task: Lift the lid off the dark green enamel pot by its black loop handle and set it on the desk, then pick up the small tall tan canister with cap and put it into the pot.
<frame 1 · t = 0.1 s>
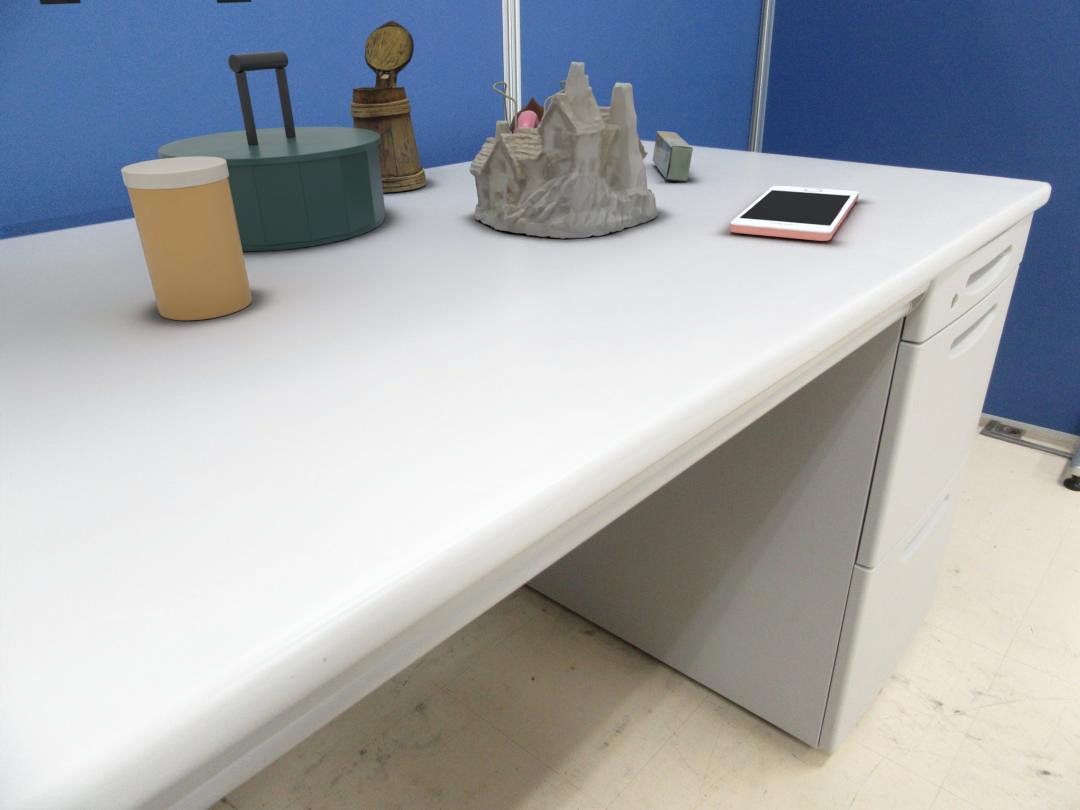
hand: (156, 4, 53), 20 cm above the table, tool pointing down, fingers open, 13 cm apart
pot: (286, 224, 79), on the table
anatomy model: (532, 173, 102), on the table
cell phone: (797, 217, 77), on the table
lid: (273, 147, 76), point 7 cm above the table, touching pot
medication box: (670, 174, 99), on the table
wooden mug: (394, 183, 98), on the table
tan canister with cap: (206, 305, 58), on the table
ceramic cottage: (566, 219, 79), on the table
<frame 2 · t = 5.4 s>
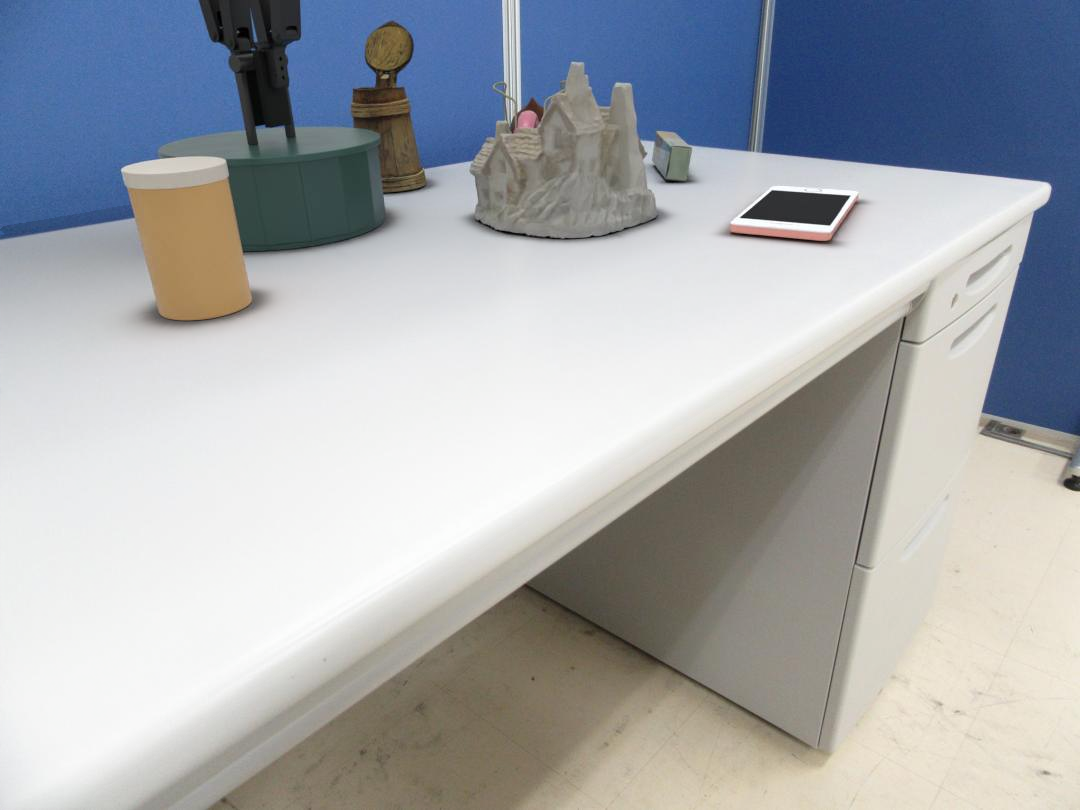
hand: (269, 124, 75), 10 cm above the table, tool pointing down, fingers closed on lid, 1 cm apart
lid: (273, 147, 76), point 7 cm above the table, touching gripper, pot
everything else where it was.
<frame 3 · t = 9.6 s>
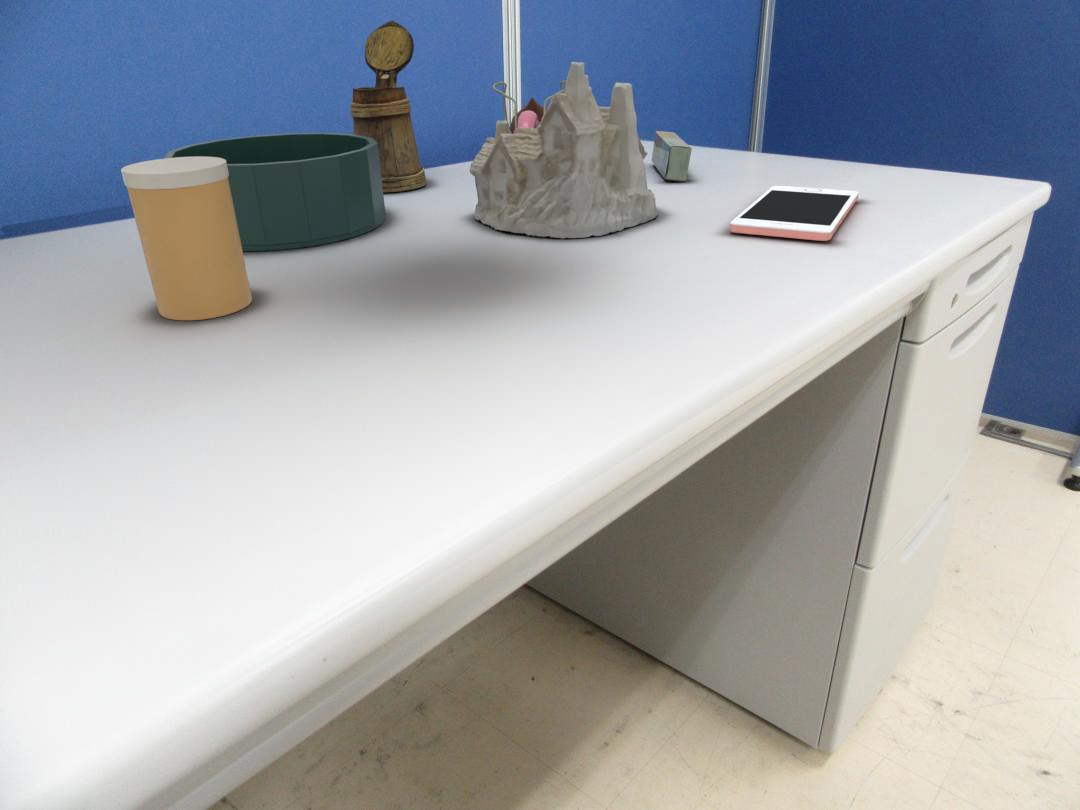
when the fingers open (3 cm above the table, at t = 14.1 s): lid stays where it is, point 1 cm above the table.
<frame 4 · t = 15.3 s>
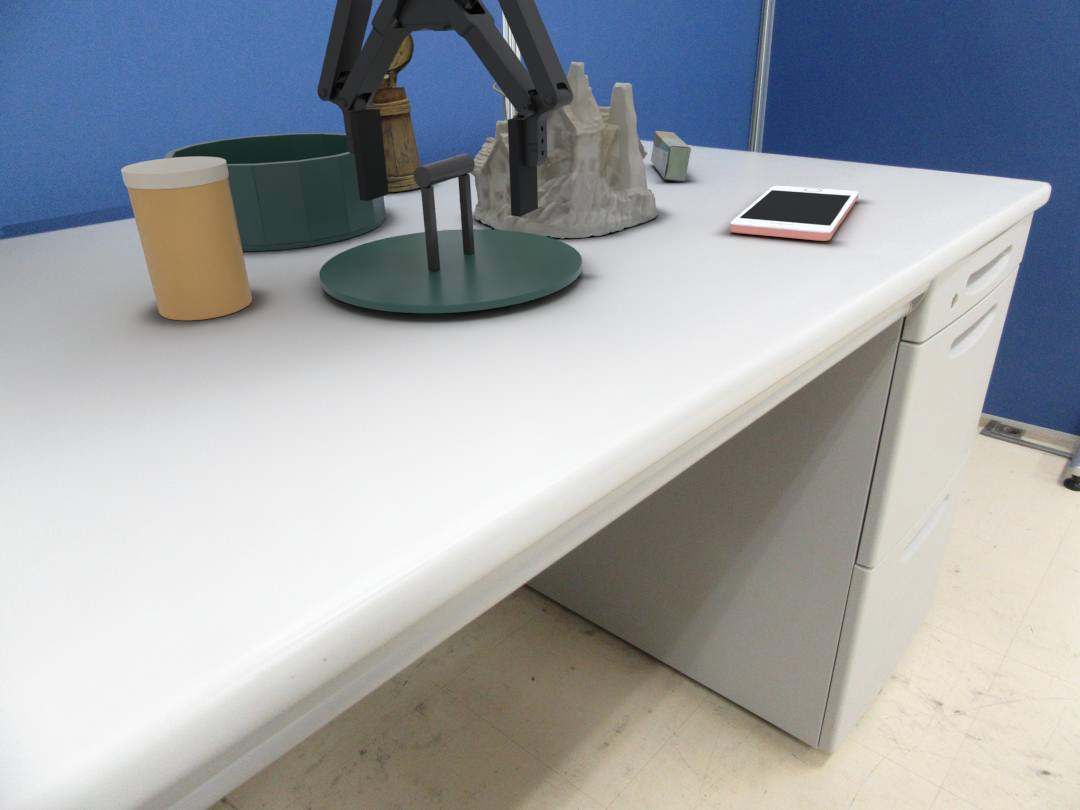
hand: (446, 205, 60), 6 cm above the table, tool pointing down, fingers open, 13 cm apart
lid: (452, 268, 62), point 1 cm above the table
everything else where it was.
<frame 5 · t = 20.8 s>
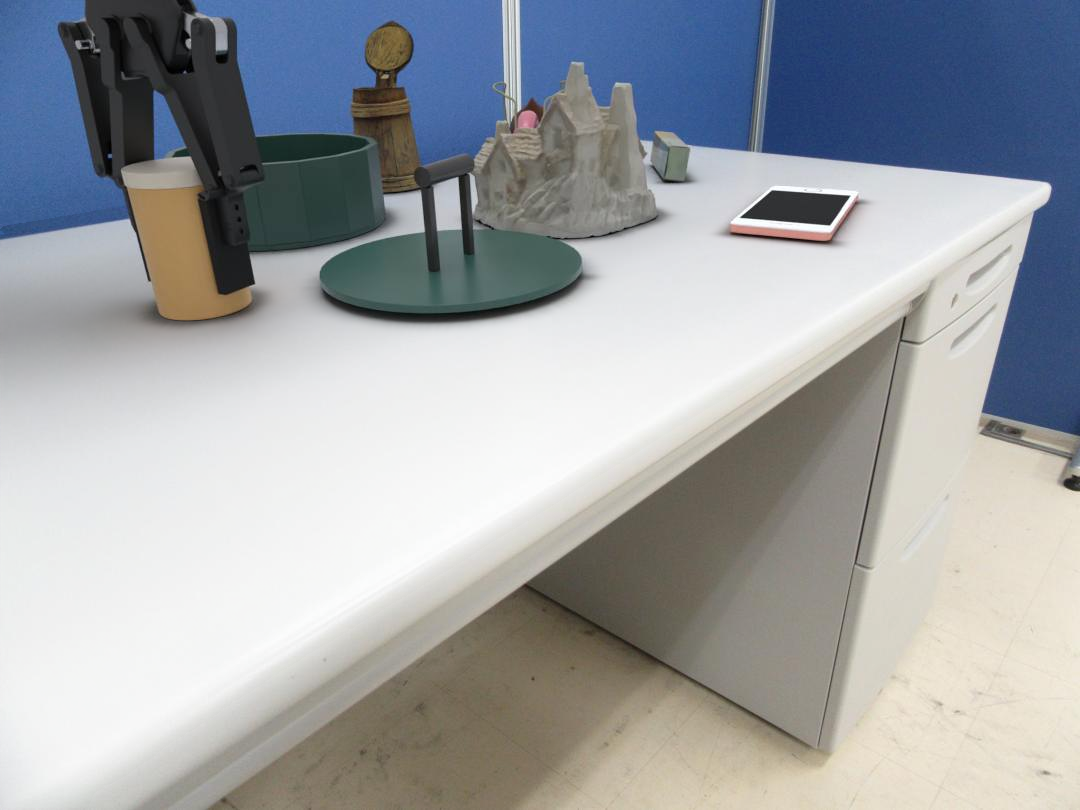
hand: (201, 282, 57), 2 cm above the table, tool pointing down, fingers closed on tan canister with cap, 6 cm apart
tan canister with cap: (206, 305, 58), on the table, touching gripper
everything else where it was.
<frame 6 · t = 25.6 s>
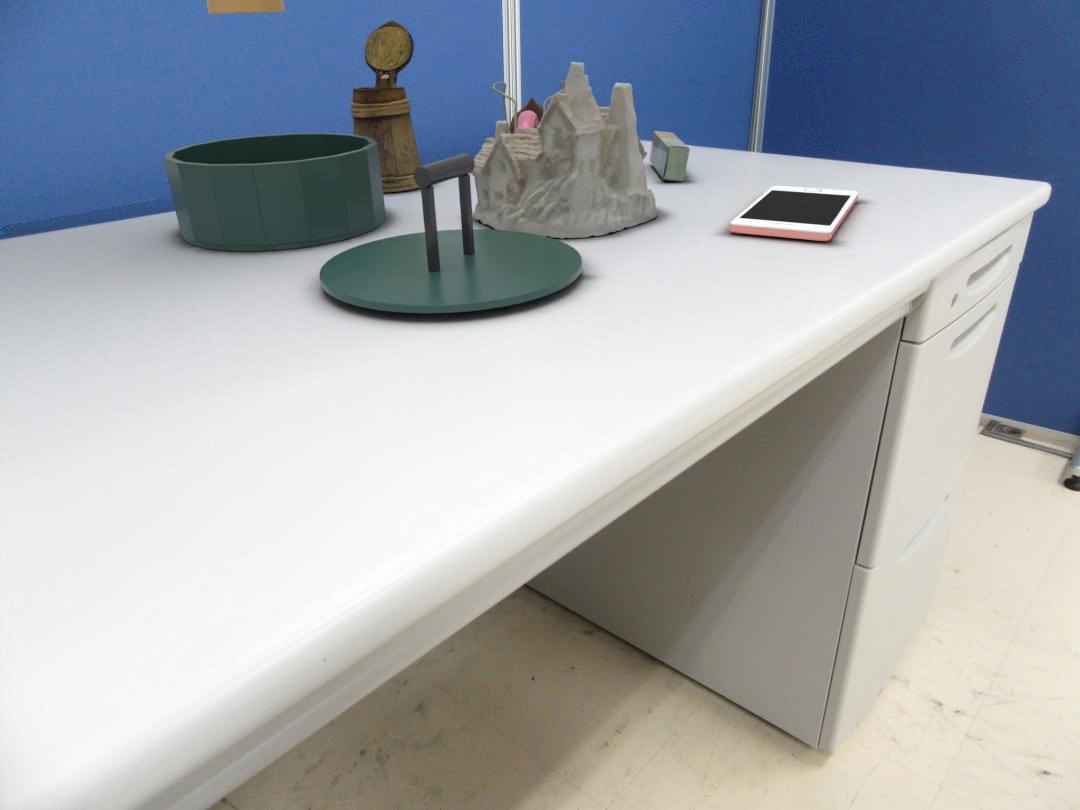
tan canister with cap: (247, 12, 69), point 19 cm above the table, touching gripper
everything else where it was.
when the fingers open (2 cm above the table, at t = 30.3 s): tan canister with cap stays where it is, resting on pot.
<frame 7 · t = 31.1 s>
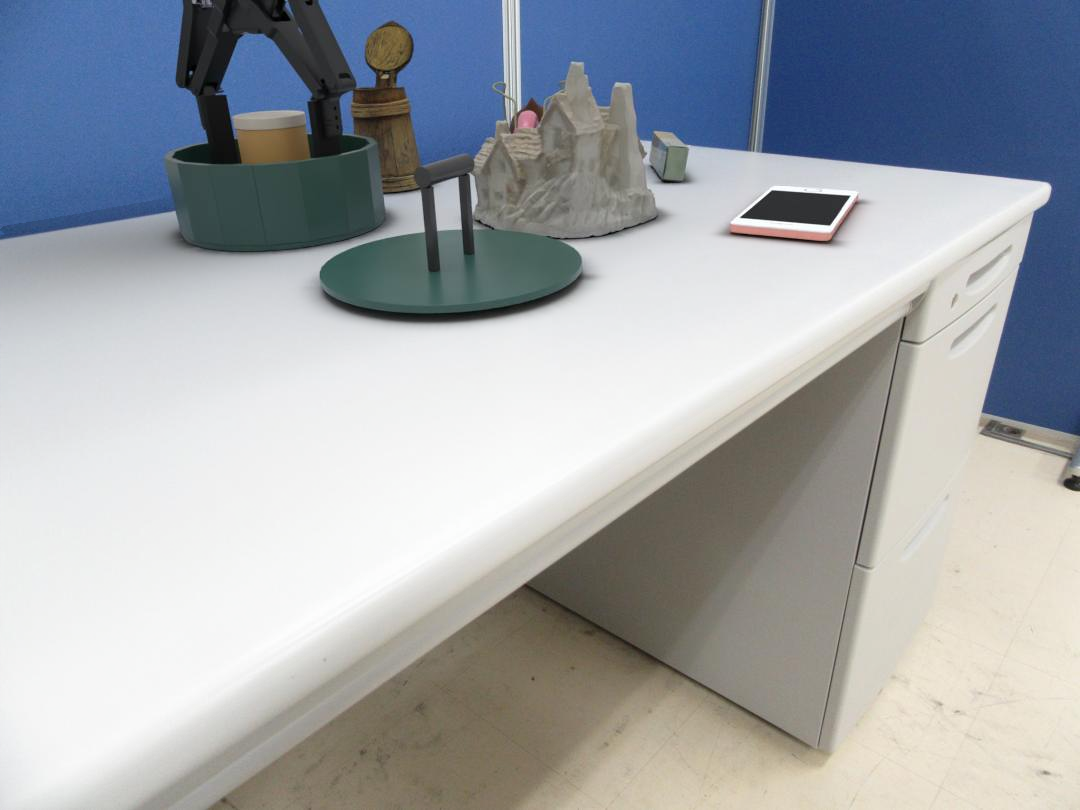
hand: (276, 169, 77), 5 cm above the table, tool pointing down, fingers open, 13 cm apart
tan canister with cap: (286, 219, 79), resting on pot
everything else where it was.
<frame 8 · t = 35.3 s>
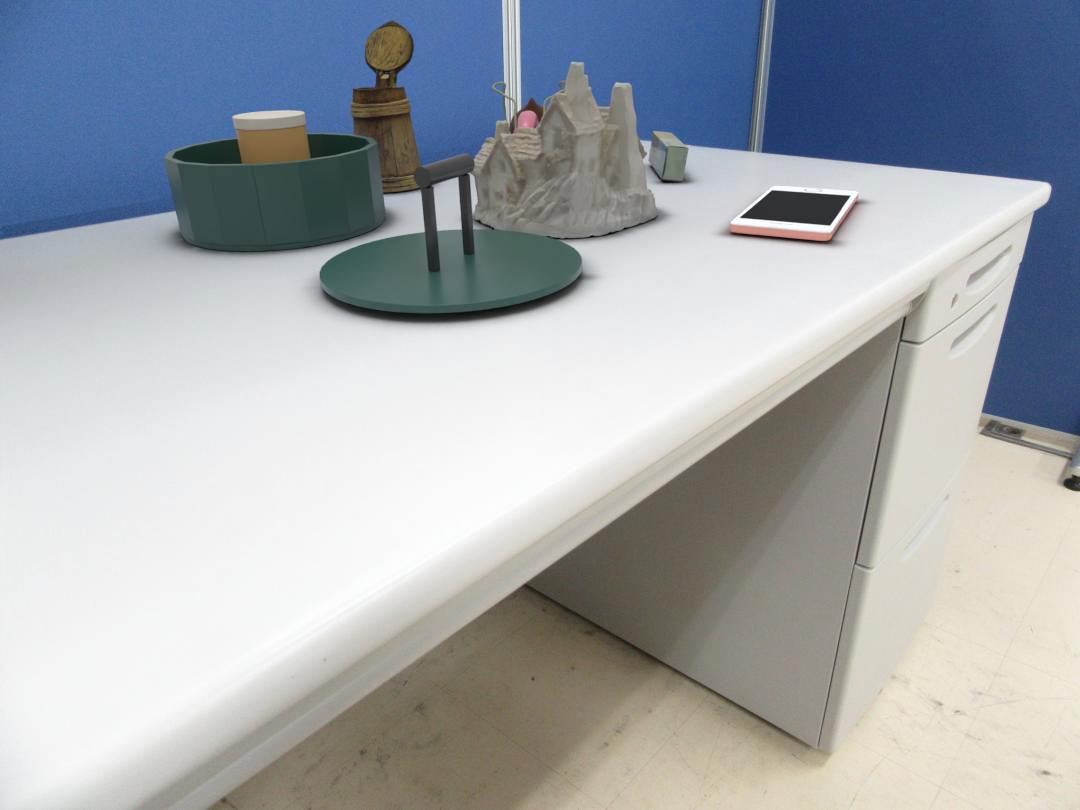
nothing on the table moved.
at the end: tan canister with cap inside the target area in the pot (0.1 cm from its centre), point 0.5 cm above the pot's base; lid inside the target area (0.0 cm from its centre), point 0.6 cm above the table; the gripper is holding nothing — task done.
